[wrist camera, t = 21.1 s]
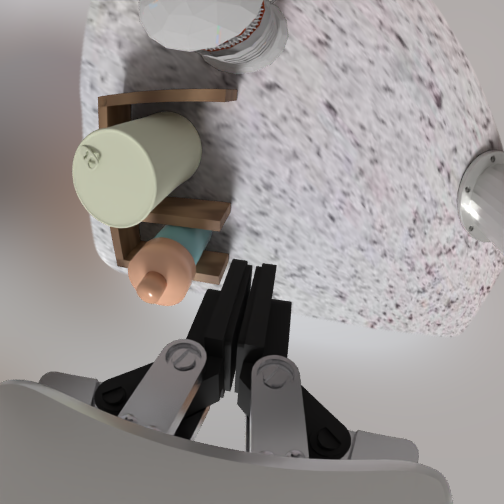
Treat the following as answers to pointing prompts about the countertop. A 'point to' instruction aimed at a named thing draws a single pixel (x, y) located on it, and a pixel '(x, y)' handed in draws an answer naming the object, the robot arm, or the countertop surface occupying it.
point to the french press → (219, 30)
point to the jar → (188, 238)
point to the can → (134, 166)
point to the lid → (162, 271)
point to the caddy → (170, 208)
